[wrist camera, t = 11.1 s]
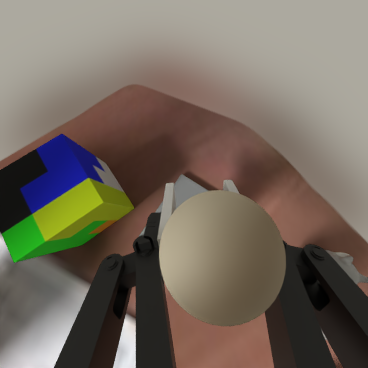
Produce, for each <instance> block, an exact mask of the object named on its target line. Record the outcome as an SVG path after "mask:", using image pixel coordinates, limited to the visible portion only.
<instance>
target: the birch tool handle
mask: <svg viewBox="0 0 368 368" xmlns="http://www.w3.org/2000/svg"><path fill="white" fill-rule="evenodd" d="M159 260H160V268H161V272H162V276H163V279H164V282H165V284H166V286H167V288H168V290H169V292H170V293H171V295H172V296H173V298H174V299H175V301H176V302H177V303H178V304H179V305H180V306H181V307H182V308H183V309H184V310H185V311H186V312H187V313H189V314H190V315H192V316H193V317H195V318H197V319H199V320H201V321H203V322H206V323H209V324H212V325H218V326H234V325H240V324H243V323H246V322H249V321H251V320H253V319H255V318H257V317H258V316H260V315H261V314H262V313H264V312H265V311H266V310H267V309H268V308H269V307H270V306H271V304H272V303H273V302H274V300H275V299H276V297H277V295H278V294H279V292H280V289H281V287H282V284H283V281H284V276H285V270H286V254H285V248H284V244H283V240H282V237H281V235H280V232H279V230H278V228H277V226H276V224H275V223H274V221H273V220H272V218H271V217H270V216H269V214H268V213H267V212H266V211H265V210H264V209H263V208H262V207H261V206H259V205H258V204H257V203H256V202H254V201H253V200H251V199H249V198H247V197H246V196H243V195H241V194H238V193H235V192H231V191H223V190H213V191H207V192H203V193H200V194H197V195H195V196H193V197H191V198H189V199H188V200H186V201H185V202H183V203H182V204H181V205H180V206H179V207H178V208H177V209H176V210H175V211H174V212H173V214H172V215H171V216H170V218H169V219H168V221H167V223H166V225H165V227H164V230H163V233H162V236H161V240H160V247H159Z"/></svg>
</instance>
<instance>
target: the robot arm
mask: <svg viewBox="0 0 368 368" xmlns="http://www.w3.org/2000/svg"><path fill="white" fill-rule="evenodd" d="M223 191H231V192H235V193H238V194H239V192H238V190H237V188H236V186H235V185H234V183H233V181H232V180H224V186H223ZM175 210H176V200H175V190H174V183H166V187H165V193H164V200H163V206H162V212H157V213H151V214H150V216H149V217H148V220H147V224H146V228H145V232H144V235H141V236H139V237H138V238H136V240H135V241H134V243H133V248H134V251H135V252H133V253H131V254H128V255H126V256H123V257H122V256H121V255H119V254H112V255H109V256H108V257H106V258H105V259H104V260H103V261H102V263H101V264H100V266H99V269H98V271H97V273H96V275H95V277H94V280H93V282H92V284H91V286H90V289H89V291H88V293H87V295H86V297H85V300H84V302H83V304H82V306H81V309H80V311H79V313H78V315H77V317H76V320H75V322H74V324H73V326H72V329H71V331H70V333H69V335H68V337H67V340H66V342H65V344H64V346H63V348H62V351H61V353H60V355H59V357H58V360H57V362H56V364H55V366H54V368H113V365H114V361H115V357H116V352H117V348H118V344H119V340H120V336H121V331H122V327H123V323H124V319H125V315H126V310H127V306H128V302H129V298H130V294H131V289H132V287H134V286H136V368H176V362H175V355H174V348H173V341H172V335H171V328H170V321H169V314H168V308H167V301H166V294H165V287H164V281H163V276H162V272H161V268H160V260H159V247H160V240H161V236H162V233H163V230H164V227H165V225H166V223H167V221H168V219H169V218H170V216H171V215H172V214H173V212H174V211H175ZM283 244H284V248H285V254H286V270H285V276H284V281H283V284H282V287H281V289H280V292H279V294H278V295H277V297H276V299H275V300H274V302H273V303H272V304H271V306H270V307H269V308H268V309H267V310H266V311H265V316H266V322H267V328H268V333H269V339H270V345H271V351H272V357H273V363H274V368H336V366H335V364H334V361H333V358H332V356H331V353H330V351H329V348H328V346H327V343H326V341H325V338H324V335H325V337H326V338H327V340H328V342H329V344H330V345H331V347H332V349H333V351H334V352H335V354H336V356H337V357H338V359H339V361H340V363H341V364H342V366H343V368H368V297H367V296H366V295H365V293H364V292H363V291H362V290H361V289H360V288H359V287H358V286H357V284H356V283H355V282H354V281H353V280H352V279H351V278H350V277H349V275H348V274H347V273H346V272H345V271H344V270H343V269H342V268H341V267H340V265H339V264H338V263H337V262H336V261H335V260H334V259H333V258H332V256H331V255H330V254H329V253H328V252H327V251H325V250H324V249H323V248H321V247H319V246H316V245H311V244H309V245H306V246H305V247H304V248H298V247H294V246H290V245H287V243H286V242H285V241H283ZM322 332H323V333H324V335H323V333H322Z"/></svg>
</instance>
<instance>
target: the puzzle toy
mask: <svg viewBox="0 0 368 368" xmlns="http://www.w3.org/2000/svg"><path fill="white" fill-rule="evenodd" d="M133 209H134V206H133V205H132V203H131V202H130V200H129V199H128V197H127V195H126V194H125V192H124V191H123V189H122V188H121V186H120V185H119V183H118V181H117V180H116V178H115V177H114V175H113V174H112V172H111V171H110V169H109V167H108V166H107V164H106V163H105V162H103V161H102V160H100V159H99V158H97V157H96V156H94V155H93V154H91V153H90V152H88V151H87V150H85V149H84V148H83V147H81V146H80V145H78V144H77V143H75V142H74V141H72V140H71V139H69V138H68V137H66V136H65V135H63V134H60V135H59V136H57V137H55V138H54V139H52V140H50V141H49V142H47V143H45V144H44V145H42V146H40V147H38V148H37V149H35V150H33V151H32V152H30V153H28V154H27V155H25V156H23V157H22V158H20V159H18V160H16V161H15V162H13V163H11V164H10V165H8V166H6V167H5V168H3V169H1V170H0V231H1V233H2V236H3V238H4V241H5V243H6V245H7V248H8V250H9V252H10V255H11V257H12V259H13V262H14V263H15V262H19V261H23V260H27V259H31V258H34V257H38V256H42V255H46V254H50V253H54V252H57V251H61V250H65V249H69V248H73V247H77V246H80V245H83V244H84V243H86V242H87V241H89V240H90V239H92V238H93V237H94V236H96V235H97V234H99V233H100V232H102V231H103V230H104V229H106V228H107V227H109V226H110V225H112V224H113V223H114V222H116V221H117V220H119V219H120V218H122V217H123V216H124V215H126V214H127V213H129V212H130V211H131V210H133Z"/></svg>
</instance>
